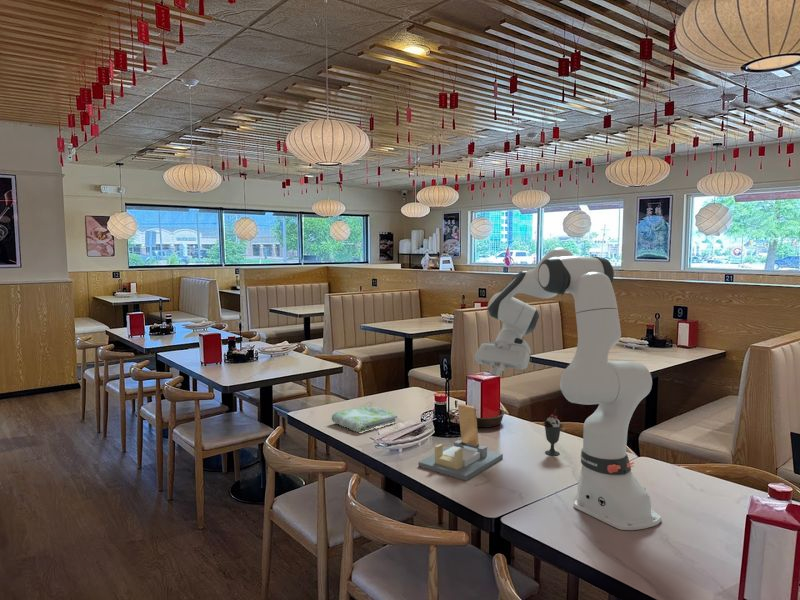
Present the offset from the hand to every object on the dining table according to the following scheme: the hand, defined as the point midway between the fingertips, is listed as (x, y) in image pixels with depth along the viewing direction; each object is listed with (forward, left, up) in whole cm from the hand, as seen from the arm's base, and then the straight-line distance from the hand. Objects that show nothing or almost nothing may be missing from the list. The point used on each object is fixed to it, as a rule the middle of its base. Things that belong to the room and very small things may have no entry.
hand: (493, 374), depth 192 cm
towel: (+41, +35, -26) cm, 60 cm away
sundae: (-15, -14, -26) cm, 33 cm away
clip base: (-10, +18, -26) cm, 33 cm away
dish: (+24, -9, -26) cm, 37 cm away
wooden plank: (-8, +14, -21) cm, 26 cm away
